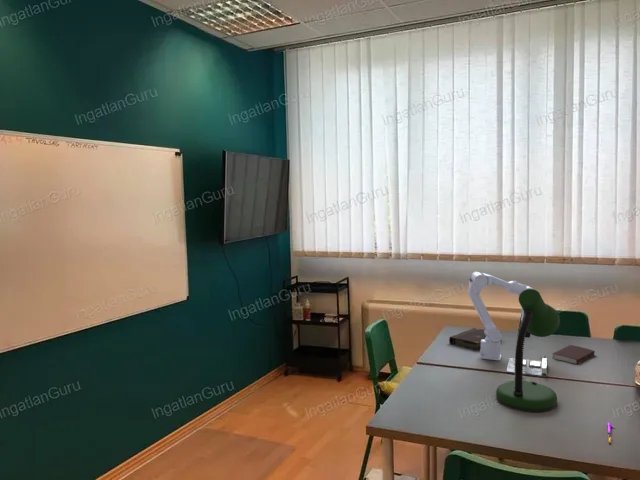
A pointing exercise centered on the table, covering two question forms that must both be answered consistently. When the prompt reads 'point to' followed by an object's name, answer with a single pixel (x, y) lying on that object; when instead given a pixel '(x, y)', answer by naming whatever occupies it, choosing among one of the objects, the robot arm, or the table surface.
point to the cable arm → (544, 363)
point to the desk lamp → (519, 392)
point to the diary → (469, 338)
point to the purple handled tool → (609, 431)
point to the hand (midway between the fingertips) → (527, 337)
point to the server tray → (527, 368)
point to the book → (573, 354)
